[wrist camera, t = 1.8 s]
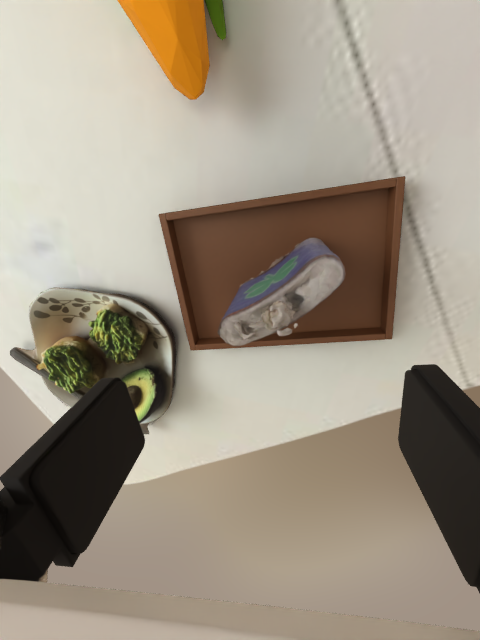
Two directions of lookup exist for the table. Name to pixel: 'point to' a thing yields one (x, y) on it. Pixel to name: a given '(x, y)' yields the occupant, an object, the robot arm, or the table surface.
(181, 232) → the tray
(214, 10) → the corn
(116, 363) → the avocado toast plate
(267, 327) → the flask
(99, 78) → the table surface
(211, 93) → the table surface
